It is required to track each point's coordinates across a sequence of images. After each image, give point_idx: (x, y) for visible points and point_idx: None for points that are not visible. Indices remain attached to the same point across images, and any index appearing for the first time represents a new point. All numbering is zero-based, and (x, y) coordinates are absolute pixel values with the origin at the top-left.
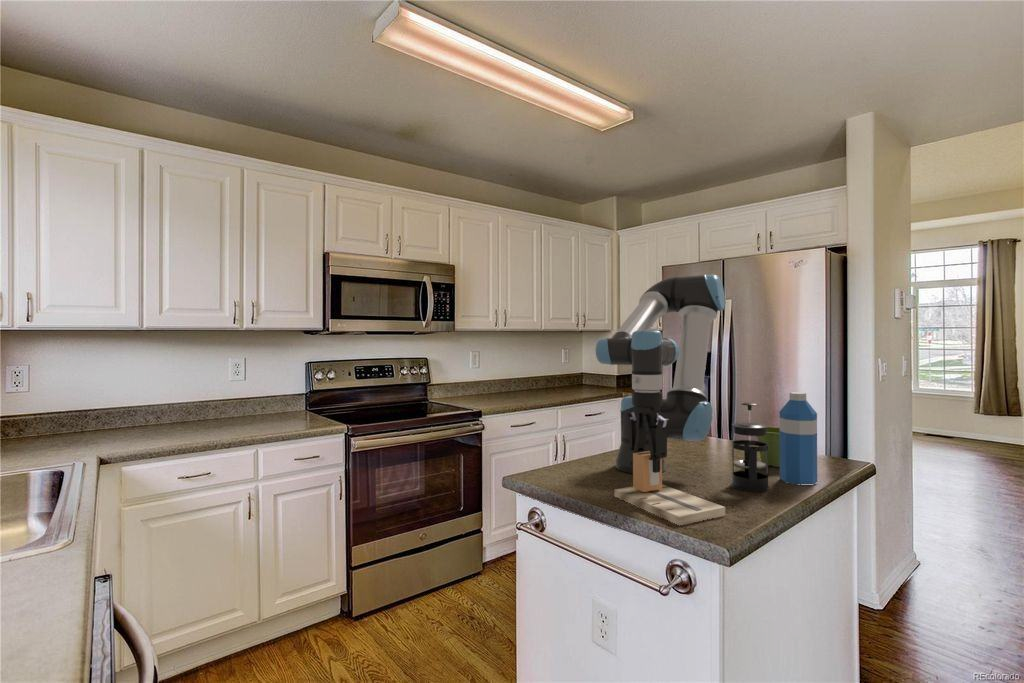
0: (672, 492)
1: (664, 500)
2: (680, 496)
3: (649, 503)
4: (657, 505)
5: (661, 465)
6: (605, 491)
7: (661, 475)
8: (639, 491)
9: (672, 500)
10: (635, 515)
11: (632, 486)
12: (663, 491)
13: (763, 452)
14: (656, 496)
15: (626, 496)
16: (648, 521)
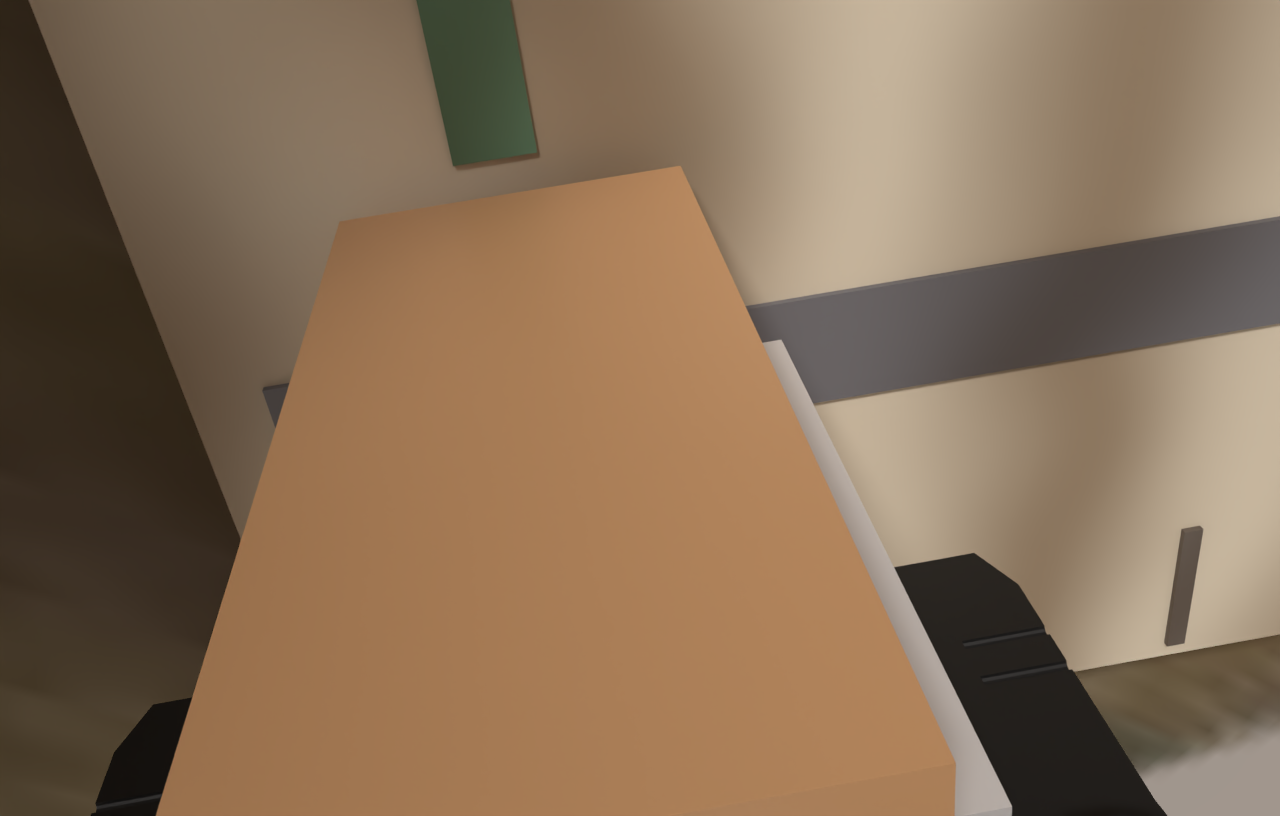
0: (857, 11)
1: (1136, 410)
2: (1136, 18)
3: (1117, 649)
4: (1238, 598)
5: (801, 452)
6: (40, 723)
7: (735, 304)
8: None
9: (1231, 312)
10: None
11: (235, 519)
12: (724, 153)
13: None
14: (912, 421)
15: None
16: (1273, 696)
